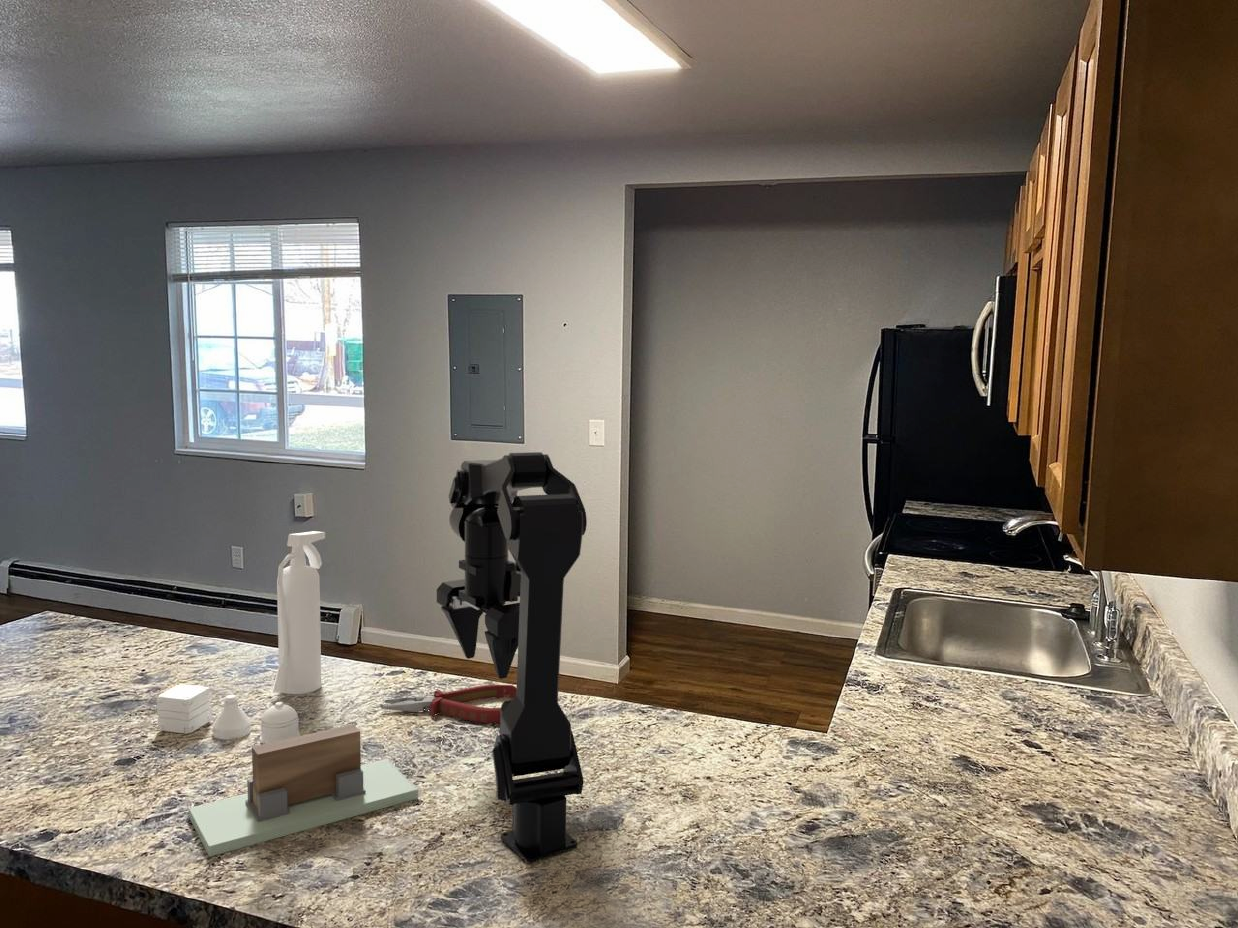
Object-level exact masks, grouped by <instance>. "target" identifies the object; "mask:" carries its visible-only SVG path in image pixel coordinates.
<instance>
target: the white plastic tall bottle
mask: <svg viewBox="0 0 1238 928" xmlns="http://www.w3.org/2000/svg"><path fill="white" fill-rule="evenodd" d="M325 538H326V532H324V531H318V530H317V531H316V530H312V531H305V532H298V533H296V532H295V533H289V534H288V537H287V545H286V546H287V547H291V553H289V554H287V555H286V556H285V557H284V559H283V560H282V561H281V563H280V564H279V565H278V571H277V579H276V593H277V594H276V595H277V596H276V597H277V601H276V602H277V637H278V638H277V640H278V641H277V642H278V645H277V646H278V669H277V672H276V676H275V680H274V683H273V687H272V689H271V691H272V692H273V693H278V694H279V693H281V694H283V693H284V694H287V695H302V694H303V695H304V694H309V693H313V692H316V691H317V690H319V689H321V688H322V652H321V651H322V650H321V649H322V647H321V645H322V643H321V641H322V638H321V637H322V636H321V603H320V602H321V596H320V595H321V594H320V592H321V590H320V588H321V587H320V586H321V585H320V574H319V572H318V570H319V569H320V568H321V567H322V565H323V562H322V557H321V554H320V553H319V551H318V549H317V548H316V547H315V546H314V545H313V544H312V543H315V542H319V541H322V540H324V539H325ZM306 556H307V558H308V562H309V565H307V560H306ZM289 561H290V562H289ZM288 562H289V565H288V566H287V567H285V566H286V564H288Z"/></svg>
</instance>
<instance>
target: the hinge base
mask: <svg viewBox="0 0 1238 928" xmlns="http://www.w3.org/2000/svg"><path fill="white" fill-rule="evenodd" d="M246 781H247V783H246V785H247V793H243V794H240V795H235V796H231V797H227V798H223V799H220V800H215V801H212V802H207V803H203V804H200V805H195V806H191V807H188V818H189V820H190V822H191V824H192V826H193V827H194V830H195V832H196V834H197V835H198V837H199V839H200V841H201V843H202V845H203V847H204V849H205V851H206V852H207V855H208V857H209V858H210V857H214V856H217V855H221V854H225V853H228V852H232V851H235V850H239V849H242V848H246V847H249V846H253V845H256V844H260V843H264V842H267V841H271V840H274V839H278V838H281V837H286V836H288V835H292V834H296V833H299V832H304V831H307V830H310V829H315V828H317V827H321V826H325V825H328V824H332V823H335V822H339V821H342V820H345V819H350V818H353V817H357V816H361V815H364V814H368V813H371V812H374V811H378V810H382V809H385V808H388V807H392V806H396V805H400V804H403V803H407V802H410V801H414V800H417V799H419V789H418V788H417V787H416V785H414V784H413V782H411V781H410V779H408V778H407V777H406V776H405V775H404V774H403V773H402V772H401V771H400V770H399V769H398V768H397V767H396V766H394V764H393V763H391V761H389V760H388V759H387V758H384V759H380V760H377V761H372V762H367V763H364V764H363V763H362V764H361V769H356V770H352V771H348V772H344V773H340V774H336V793H332V794H328V795H324V796H321V797H317V798H313V799H309V800H305V801H302V802H298V803H294V804H290V805H287V790H286V789H285V787H284V788H280V789H276V790H272V791H268V792H264V793H260V794H258V810H257V809H256V807H255V806H254V804H253V777H251V778H247V780H246Z"/></svg>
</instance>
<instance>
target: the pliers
mask: <svg viewBox="0 0 1238 928" xmlns="http://www.w3.org/2000/svg"><path fill="white" fill-rule="evenodd" d="M516 689H517V686H515V685H513V684H486V685H479V686H474V687H468V688H462V689H458V690H453V691H452V690H451V691H447V692H443V691H441V690H434V693H433V695H432V696H426V695H416V696H407V697H406V696H405V697H400V698H391V699H385V700H384V703H385V705H382V706H381V707H380V708H381V709H382V710H391V711H400V712H410V713H420V712H419V711H423V712H424V711H425V710H427V711H426V712H429V716H430V715H432V716H431V717H435V716H436V715H435V714H437V715H439V714H438V713H441V714H440V715H443V714H444V715H443V716H447V715H448V716H447V717H451V716H452V718H455V717H457V719H460V718H461V719H460V720H465V721H468V720H469V721H470V722H472V721H473V723H478V722H480V723H479V724H487V723H492V724H500V722H501V711H500V709H501V707H482V706H478V705H477V706H476V705H472V704H469V703H470V702H469V701H471V702H475V700H476V701H480V700H479V699H481V700H485V699H487V698H488V699H513V697H514V696H515V695H516ZM424 709H425V710H424ZM428 710H429V711H428ZM434 715H435V716H434Z"/></svg>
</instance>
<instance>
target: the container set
mask: <svg viewBox="0 0 1238 928" xmlns="http://www.w3.org/2000/svg"><path fill="white" fill-rule="evenodd" d="M211 694H212V693H211V689H210V688H209V687H208V686H203V685H195V684H194V685H193V684H192V685H191V684H184V683H183V684H182V683H181V684H177V685H175V686H173V687H171V688H169V689H167V690H166V691H164V692H162V693H160V694H159V695H158V696H157V698H156V709H157V715H156V716H157V728H158V729H159V730H160V731H161V732H162V731H163V732H170V733H178V734H179V733H180V734H185V735H186V734H192V733H193V732H195V731H196V730H198V729H199V728H202V727H203V726H205V725H207V724H208V723H210V721H211V720H212V708H211V707H212V701H211V700H212V699H211V698H212V695H211ZM223 702H224V703H223V706H224V707H223V708H222V710H221V711H220V713H219V715H217V718H216V719H215V720H214V722H213V723H212V735H213V737H214V738H216V739H217V740H218V739H219V740H236V739H240V738H242V737H245V736H247V735H249V734H250V733H251V731H252V724H251V723H252V720H251V718H249V716H248V715H247V714H246V713H245V711H244V710H243V709H242V708H241V707H240V705H239V698H238V696H237V695H235V694H229V695H226V696H225V698H224V700H223ZM298 736H301V733H300V731H299V715H298V713H297V712H296V710H295V709H294V708H293V707H292V706H290V705H289V704H285V703H284V702H283V701H278V702H275V704H274V705H272V706H269V707H268V708H267V709H266V710H265V711H264V713H263V714H262V716H261V718H260V737H259V741H260V743H261V744H267V743H271V742H276V741H280V740H285V739H289V738H294V737H298Z"/></svg>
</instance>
